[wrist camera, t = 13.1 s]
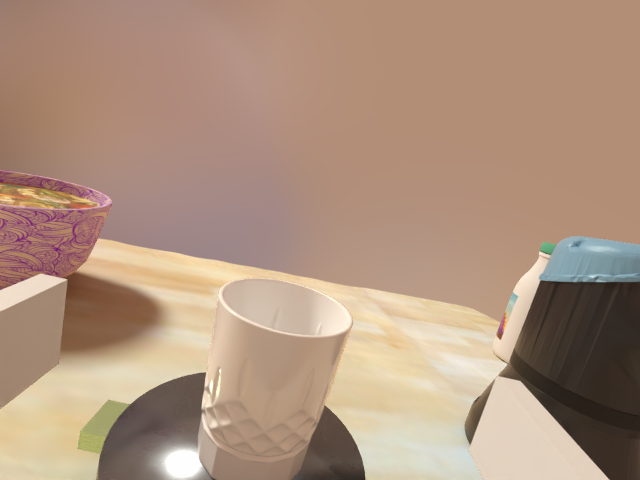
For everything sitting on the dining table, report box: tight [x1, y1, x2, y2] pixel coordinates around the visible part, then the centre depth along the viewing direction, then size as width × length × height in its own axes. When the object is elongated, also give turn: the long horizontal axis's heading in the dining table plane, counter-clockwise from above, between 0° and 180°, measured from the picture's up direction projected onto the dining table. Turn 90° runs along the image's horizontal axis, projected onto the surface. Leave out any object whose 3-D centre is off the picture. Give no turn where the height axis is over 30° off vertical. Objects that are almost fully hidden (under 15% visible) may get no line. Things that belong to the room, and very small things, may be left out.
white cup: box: [198, 278, 353, 480], centre depth 23 cm, size 8×8×10 cm
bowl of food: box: [0, 170, 112, 290], centre depth 44 cm, size 20×20×12 cm
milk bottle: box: [492, 242, 556, 363], centre depth 60 cm, size 8×8×20 cm
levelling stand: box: [78, 372, 365, 480], centre depth 24 cm, size 17×16×4 cm
